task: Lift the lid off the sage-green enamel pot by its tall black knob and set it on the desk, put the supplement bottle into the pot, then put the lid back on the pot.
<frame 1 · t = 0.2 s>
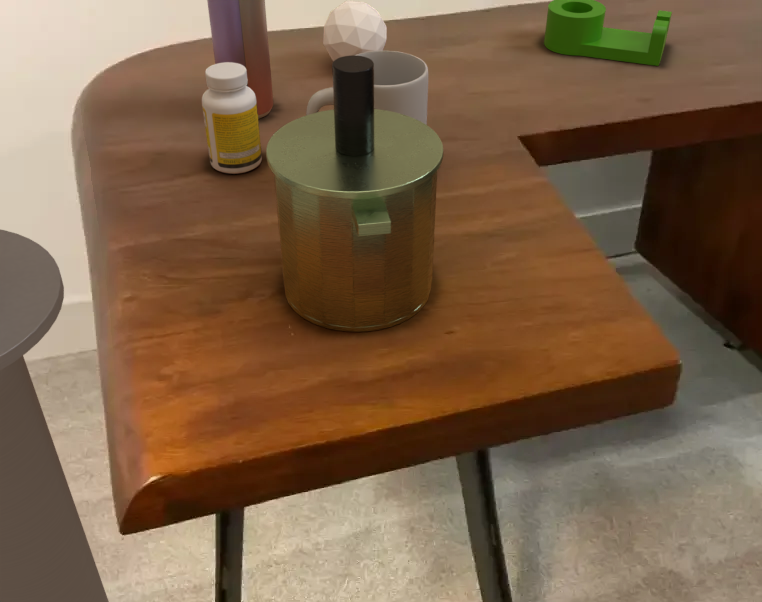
mug: (367, 176, 94), on the table
tape dispenser: (602, 49, 117), on the table
pot: (357, 286, 79), on the table
supplement bottle: (236, 164, 95), on the table
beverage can: (247, 112, 104), on the table
lid: (355, 154, 71), point 12 cm above the table, touching pot
geometric ball: (355, 67, 113), on the table
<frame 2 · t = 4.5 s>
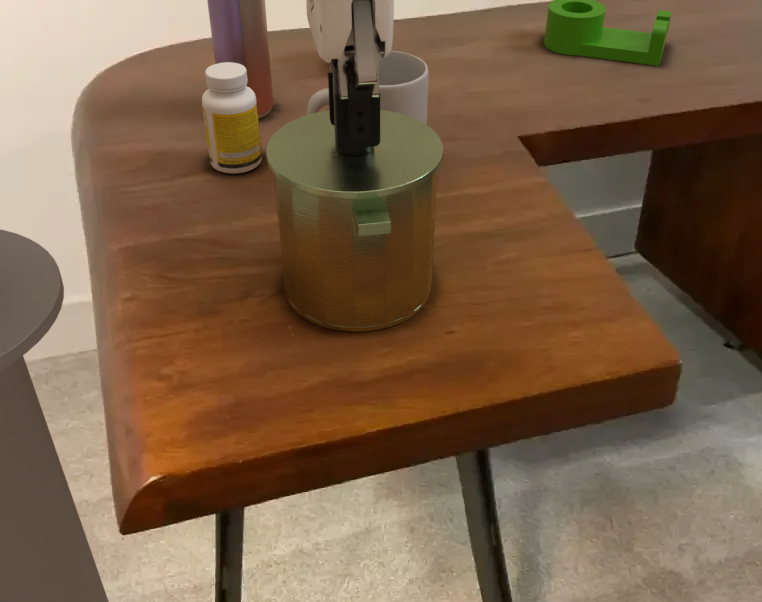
hand: (354, 132, 69), 14 cm above the table, tool pointing down, fingers closed on lid, 3 cm apart
lid: (355, 154, 71), point 13 cm above the table, touching gripper, pot
everything else where it was.
when the fingers open (2 cm above the table, at t = 14.9 s): lid stays where it is, point 1 cm above the table.
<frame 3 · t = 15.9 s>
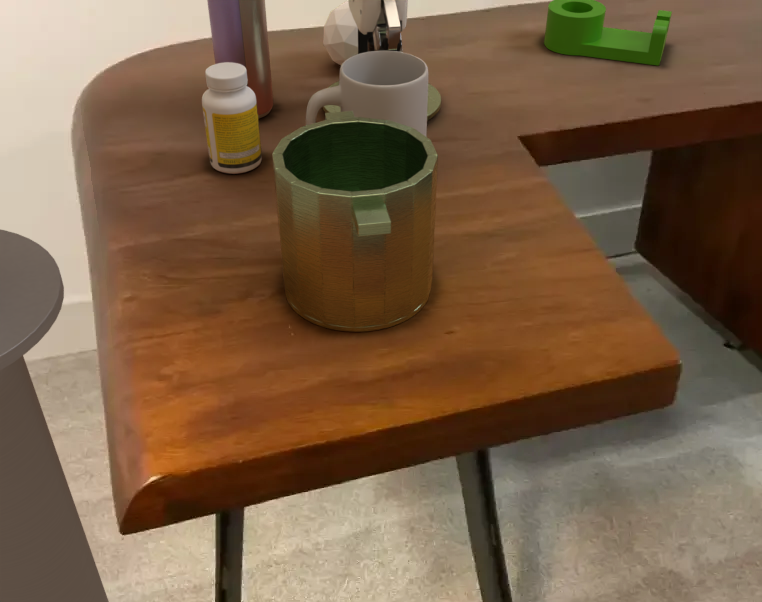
hand: (379, 74, 102), 4 cm above the table, tool pointing down, fingers open, 9 cm apart
lid: (381, 102, 104), point 1 cm above the table
everything else where it was.
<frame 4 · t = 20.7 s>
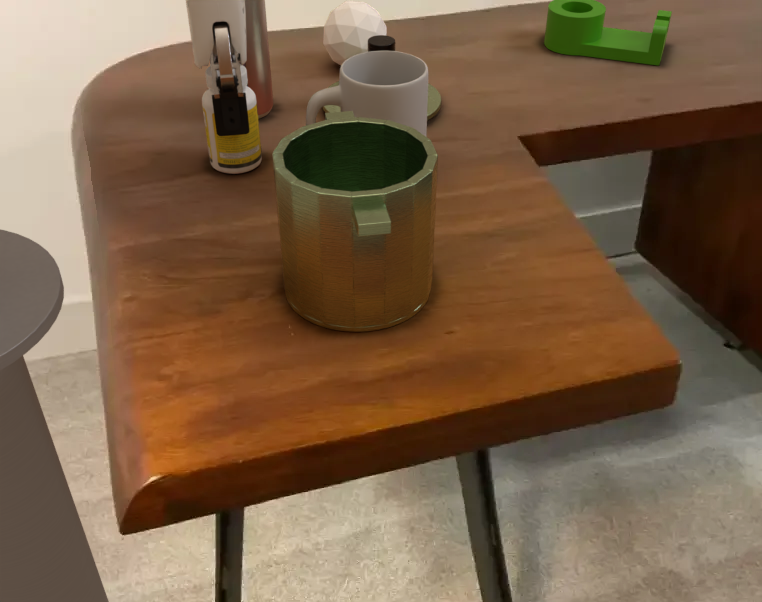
hand: (231, 118, 92), 5 cm above the table, tool pointing down, fingers closed on supplement bottle, 5 cm apart
supplement bottle: (236, 164, 95), on the table, touching gripper
everything else where it was.
when the fingers open (15 cm above the table, at t = 28.3 s): supplement bottle drops 9 cm, resting on pot.
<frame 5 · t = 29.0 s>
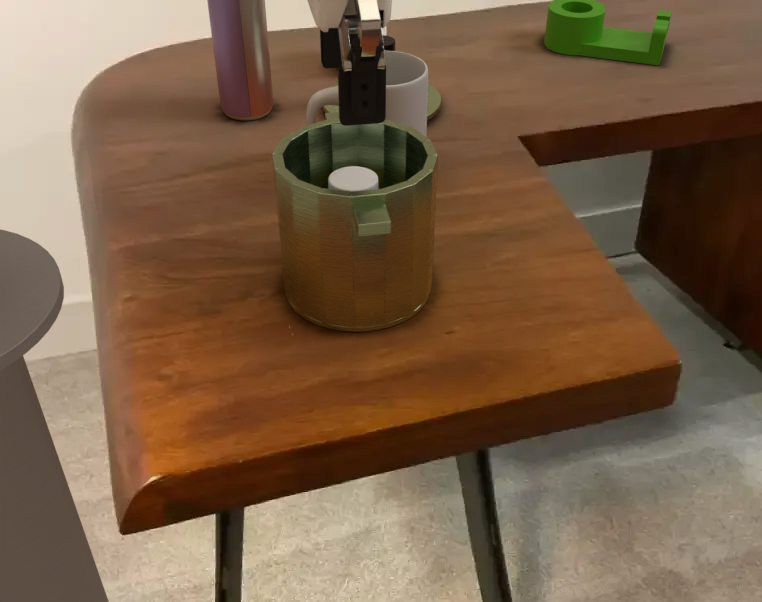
hand: (351, 92, 67), 17 cm above the table, tool pointing down, fingers open, 9 cm apart
supplement bottle: (355, 282, 79), resting on pot
everything else where it was.
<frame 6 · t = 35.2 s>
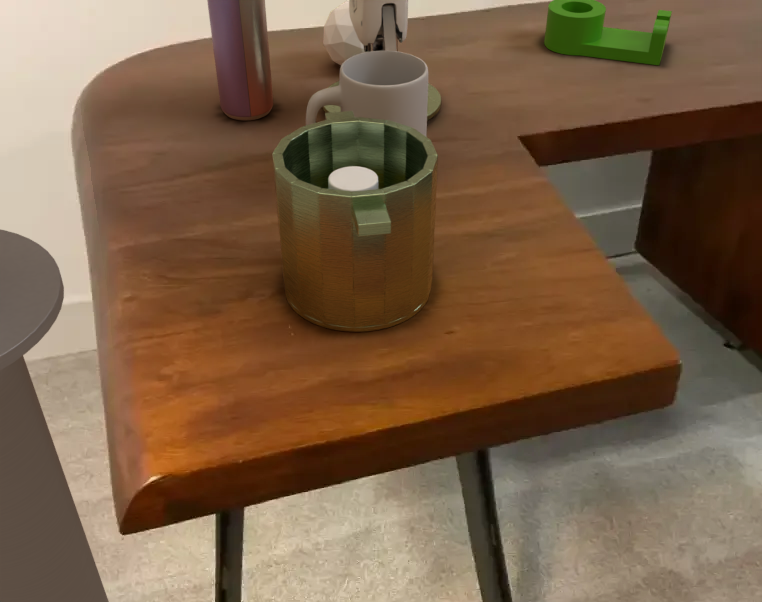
hand: (380, 93, 104), 2 cm above the table, tool pointing down, fingers closed on lid, 3 cm apart
lid: (381, 102, 104), point 1 cm above the table, touching gripper
everything else where it was.
when the fingers open (14 cm above the table, at t = 45.7 s): lid stays where it is, resting on pot.
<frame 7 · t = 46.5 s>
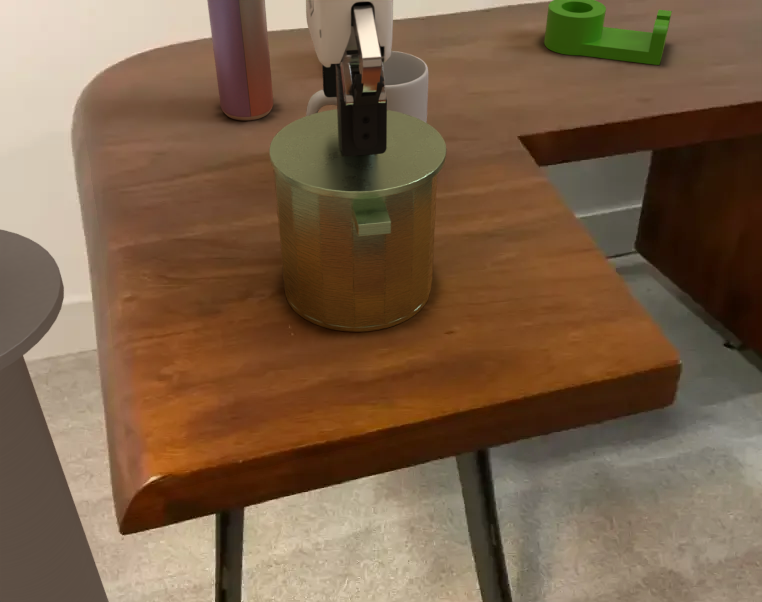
hand: (353, 122, 69), 15 cm above the table, tool pointing down, fingers open, 9 cm apart
lid: (358, 153, 71), point 12 cm above the table, touching pot
everything else where it was.
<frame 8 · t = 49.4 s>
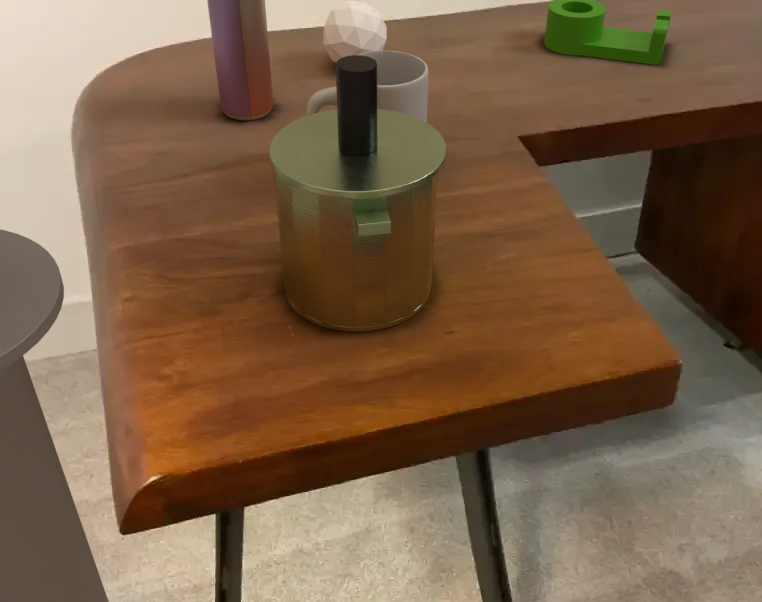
nothing on the table moved.
at the end: supplement bottle inside the target area in the pot (0.4 cm from its centre), point 0.3 cm above the pot's base; lid 0.2 cm off-centre on the pot, point 12.5 cm above the pot's base; lid tilted 0° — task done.
